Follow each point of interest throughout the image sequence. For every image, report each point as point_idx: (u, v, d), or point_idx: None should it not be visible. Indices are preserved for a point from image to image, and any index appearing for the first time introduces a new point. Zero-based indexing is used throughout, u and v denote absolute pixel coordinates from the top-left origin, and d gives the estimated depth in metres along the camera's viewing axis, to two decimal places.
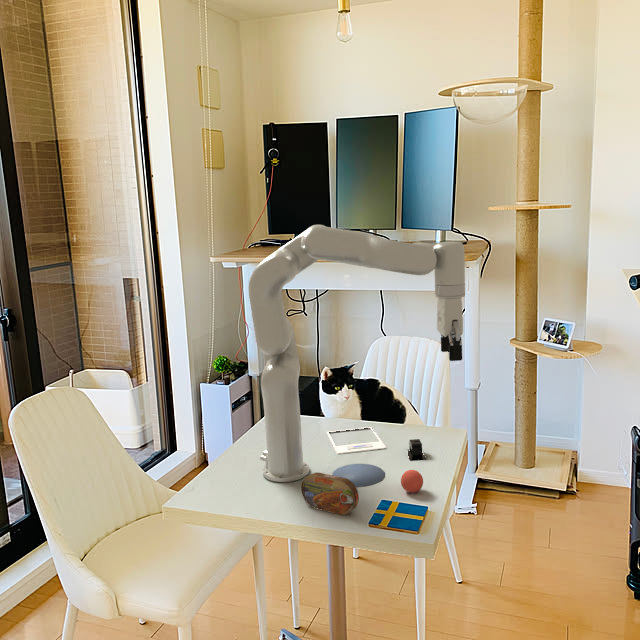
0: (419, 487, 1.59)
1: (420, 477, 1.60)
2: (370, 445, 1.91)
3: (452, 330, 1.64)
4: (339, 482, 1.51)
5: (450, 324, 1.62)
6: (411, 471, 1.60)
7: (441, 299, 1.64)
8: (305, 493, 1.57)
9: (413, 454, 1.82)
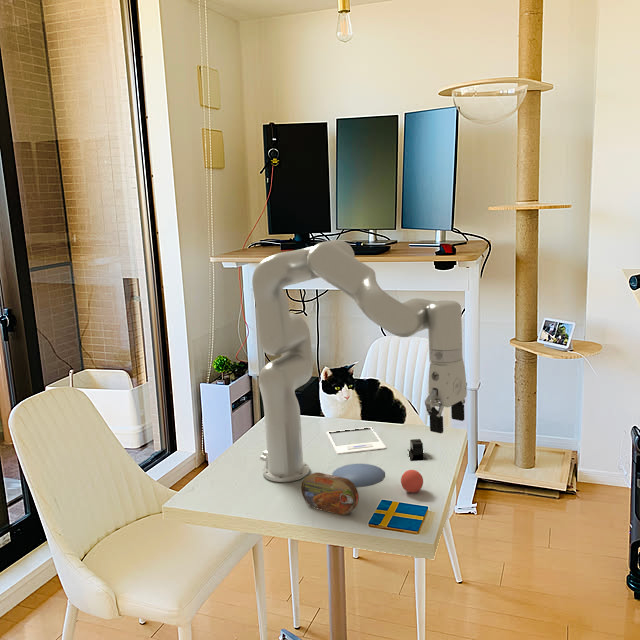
0: (419, 487, 1.59)
1: (420, 477, 1.60)
2: (370, 445, 1.91)
3: None
4: (339, 482, 1.51)
5: None
6: (411, 471, 1.60)
7: None
8: (305, 493, 1.57)
9: (414, 454, 1.82)
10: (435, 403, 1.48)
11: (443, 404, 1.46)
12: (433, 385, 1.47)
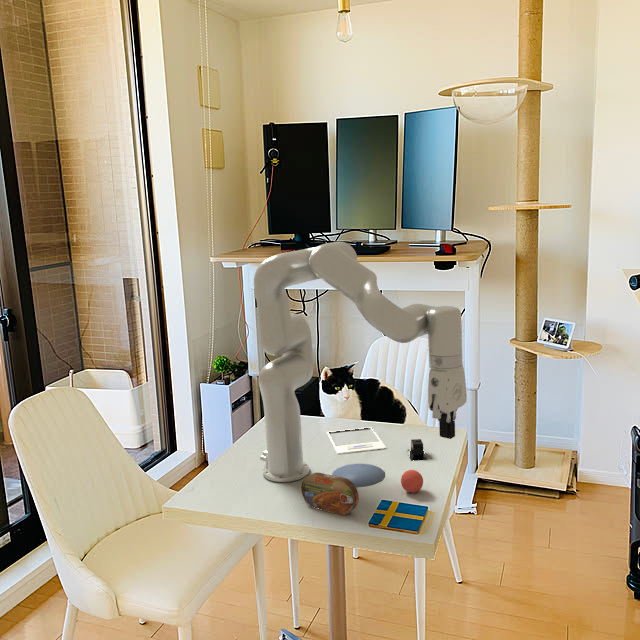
0: (419, 487, 1.59)
1: (420, 477, 1.60)
2: (370, 445, 1.91)
3: None
4: (339, 482, 1.51)
5: None
6: (411, 471, 1.60)
7: (459, 368, 1.49)
8: (305, 493, 1.57)
9: (414, 454, 1.82)
10: None
11: (443, 410, 1.46)
12: (433, 391, 1.46)
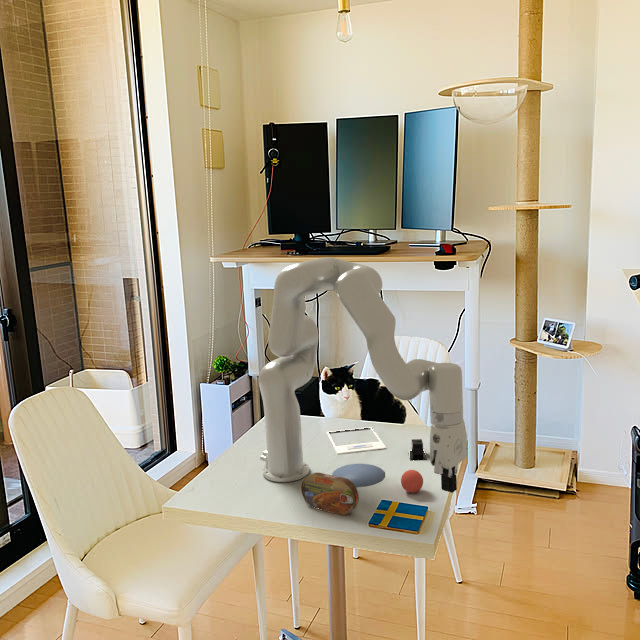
0: (419, 487, 1.59)
1: (420, 477, 1.60)
2: (370, 445, 1.91)
3: None
4: (339, 482, 1.51)
5: None
6: (411, 471, 1.60)
7: None
8: (305, 493, 1.57)
9: (414, 454, 1.82)
10: None
11: (444, 466, 1.48)
12: (434, 447, 1.49)
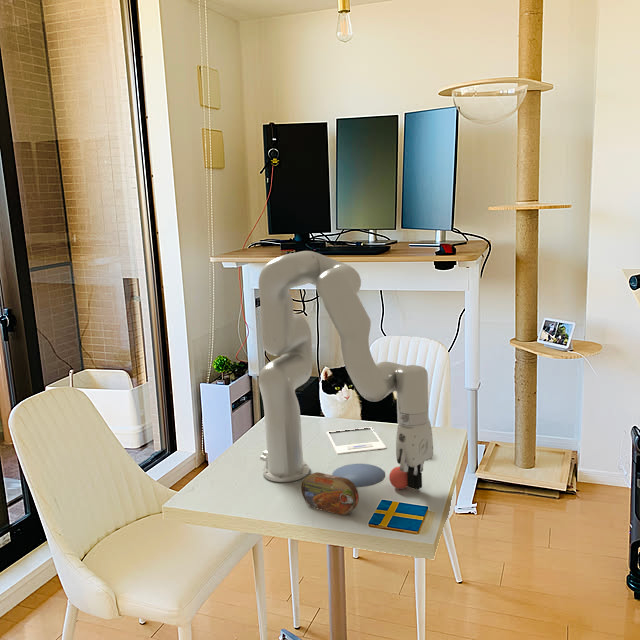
0: (404, 472, 1.62)
1: (399, 466, 1.64)
2: (370, 445, 1.91)
3: None
4: (339, 482, 1.51)
5: None
6: None
7: None
8: (305, 493, 1.57)
9: None
10: None
11: (409, 464, 1.55)
12: (400, 446, 1.55)
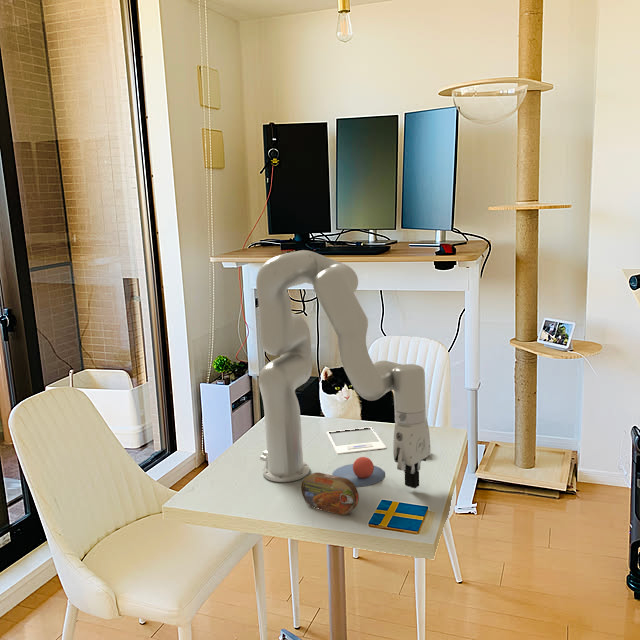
0: None
1: (371, 473, 1.70)
2: (370, 445, 1.91)
3: None
4: (339, 482, 1.51)
5: None
6: (370, 465, 1.69)
7: None
8: (305, 493, 1.57)
9: None
10: None
11: (406, 463, 1.55)
12: (397, 445, 1.56)
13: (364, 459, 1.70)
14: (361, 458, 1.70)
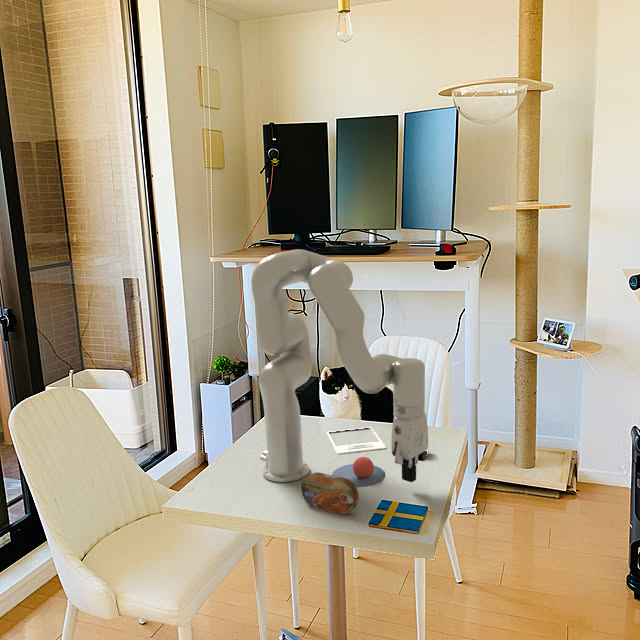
0: None
1: (371, 473, 1.70)
2: (370, 445, 1.91)
3: None
4: (339, 482, 1.51)
5: None
6: (370, 465, 1.69)
7: None
8: (305, 493, 1.57)
9: None
10: None
11: (404, 457, 1.55)
12: (395, 438, 1.56)
13: (364, 459, 1.70)
14: (361, 458, 1.70)
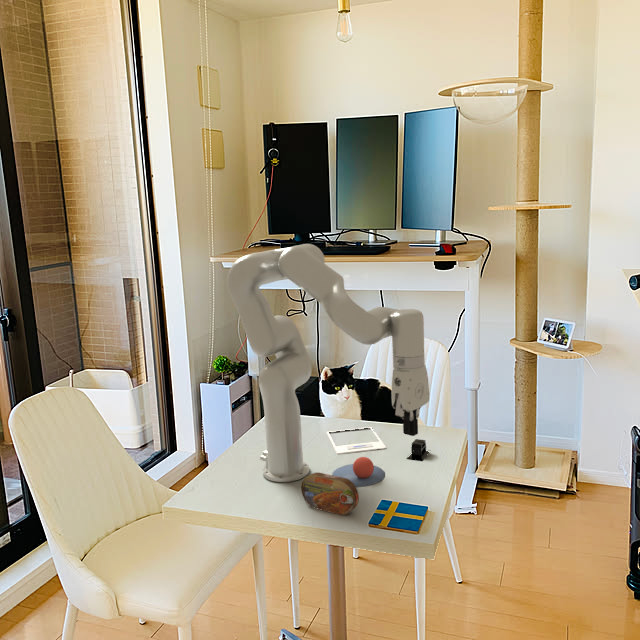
0: None
1: (371, 473, 1.70)
2: (370, 445, 1.91)
3: None
4: (339, 482, 1.51)
5: None
6: (370, 465, 1.69)
7: (422, 368, 1.55)
8: (305, 493, 1.57)
9: (412, 453, 1.83)
10: None
11: (405, 409, 1.52)
12: (396, 390, 1.53)
13: (364, 459, 1.70)
14: (361, 458, 1.70)
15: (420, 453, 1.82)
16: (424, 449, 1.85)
